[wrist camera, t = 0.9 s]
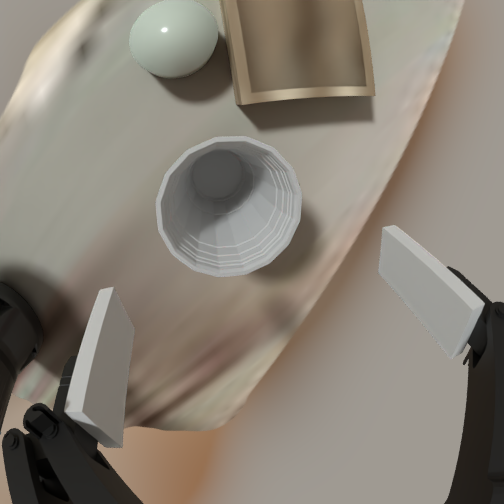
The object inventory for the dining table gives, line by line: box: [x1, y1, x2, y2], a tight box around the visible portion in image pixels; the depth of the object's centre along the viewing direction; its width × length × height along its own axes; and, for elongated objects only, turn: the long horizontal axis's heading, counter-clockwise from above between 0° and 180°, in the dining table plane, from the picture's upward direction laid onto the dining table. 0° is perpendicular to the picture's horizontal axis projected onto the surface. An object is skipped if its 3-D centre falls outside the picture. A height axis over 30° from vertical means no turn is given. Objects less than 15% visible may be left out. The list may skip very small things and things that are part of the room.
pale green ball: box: [129, 0, 218, 79], centre depth 21 cm, size 8×8×4 cm
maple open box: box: [219, 0, 375, 105], centre depth 23 cm, size 14×14×4 cm
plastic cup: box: [156, 136, 302, 277], centre depth 26 cm, size 11×11×12 cm
